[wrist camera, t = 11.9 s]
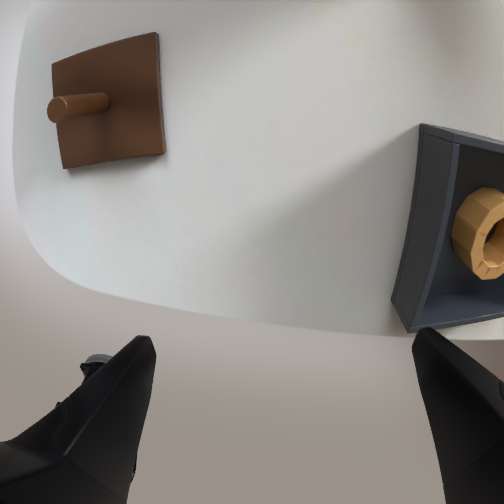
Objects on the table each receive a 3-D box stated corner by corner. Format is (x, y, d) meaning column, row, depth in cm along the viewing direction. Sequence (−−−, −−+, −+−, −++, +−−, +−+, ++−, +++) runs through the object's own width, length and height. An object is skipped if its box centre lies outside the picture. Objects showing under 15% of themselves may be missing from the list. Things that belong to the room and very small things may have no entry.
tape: (494, 258, 20) (512, 277, 17) (443, 261, 20) (461, 282, 18) (512, 190, 17) (535, 204, 14) (460, 183, 17) (484, 198, 15)
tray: (502, 288, 22) (523, 312, 19) (390, 300, 23) (407, 333, 19) (538, 152, 15) (569, 167, 12) (419, 122, 16) (453, 132, 12)
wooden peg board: (166, 152, 18) (133, 174, 13) (67, 167, 18) (20, 192, 13) (158, 33, 14) (120, 13, 9) (56, 64, 14) (4, 64, 9)
